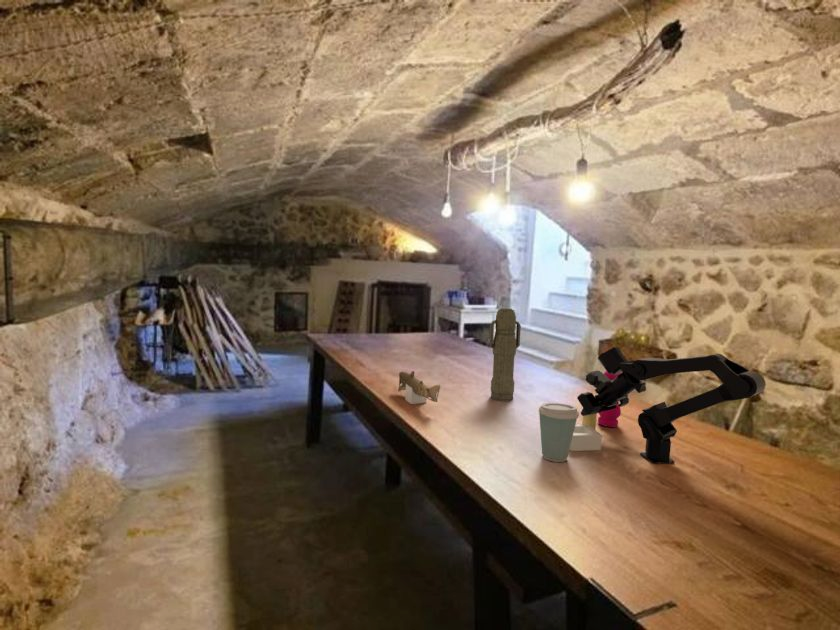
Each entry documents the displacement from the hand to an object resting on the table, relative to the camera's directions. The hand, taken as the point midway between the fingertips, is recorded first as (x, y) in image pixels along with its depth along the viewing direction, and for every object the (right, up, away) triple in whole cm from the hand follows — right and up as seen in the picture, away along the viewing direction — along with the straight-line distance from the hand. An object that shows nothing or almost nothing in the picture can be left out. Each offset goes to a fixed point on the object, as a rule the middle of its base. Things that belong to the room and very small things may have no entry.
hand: (586, 413), depth 154 cm
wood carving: (-53, -2, +29) cm, 60 cm away
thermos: (-20, -2, +38) cm, 43 cm away
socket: (-5, -8, -9) cm, 12 cm away
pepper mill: (+11, -6, +10) cm, 15 cm away
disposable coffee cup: (-15, -9, -19) cm, 25 cm away
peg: (+1, -7, 0) cm, 7 cm away
